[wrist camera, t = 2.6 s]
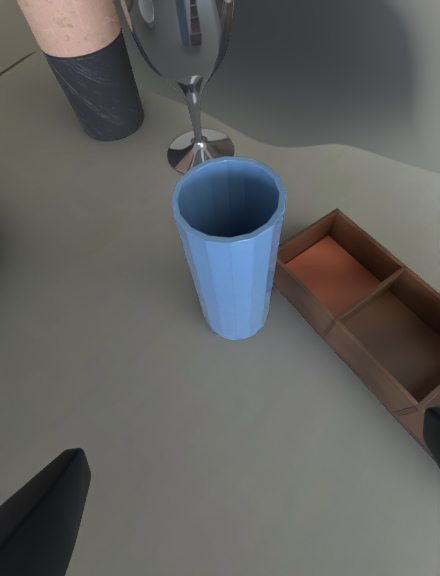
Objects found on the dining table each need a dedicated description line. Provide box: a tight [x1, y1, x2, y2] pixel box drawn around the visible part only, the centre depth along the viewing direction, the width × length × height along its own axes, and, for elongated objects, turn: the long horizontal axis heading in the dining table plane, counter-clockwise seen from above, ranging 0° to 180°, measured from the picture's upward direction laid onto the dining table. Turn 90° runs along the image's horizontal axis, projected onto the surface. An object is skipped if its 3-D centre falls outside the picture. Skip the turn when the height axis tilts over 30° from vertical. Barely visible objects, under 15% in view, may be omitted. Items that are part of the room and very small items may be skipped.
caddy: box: [273, 209, 440, 462], centre depth 21 cm, size 20×7×3 cm, turn 35°
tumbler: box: [171, 156, 286, 340], centre depth 19 cm, size 5×5×12 cm
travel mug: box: [17, 0, 144, 141], centre depth 28 cm, size 8×8×20 cm
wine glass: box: [120, 0, 234, 174], centre depth 27 cm, size 8×8×15 cm
